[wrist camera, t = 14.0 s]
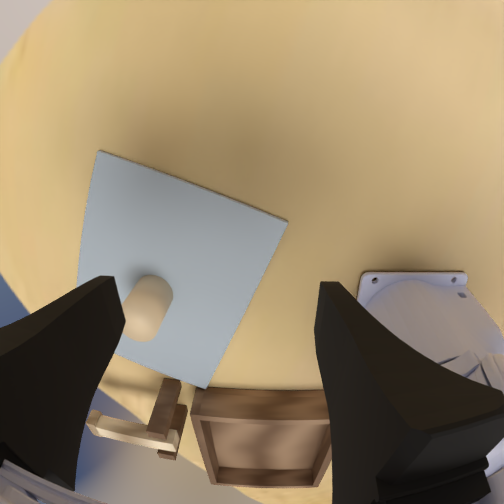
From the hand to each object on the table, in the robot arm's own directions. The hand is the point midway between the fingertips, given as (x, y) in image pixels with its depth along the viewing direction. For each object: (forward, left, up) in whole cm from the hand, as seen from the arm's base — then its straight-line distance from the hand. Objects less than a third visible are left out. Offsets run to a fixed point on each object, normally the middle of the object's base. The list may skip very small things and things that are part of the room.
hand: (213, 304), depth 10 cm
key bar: (+10, +19, -6) cm, 23 cm away
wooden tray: (-1, +26, -10) cm, 28 cm away
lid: (+7, +6, -11) cm, 14 cm away
